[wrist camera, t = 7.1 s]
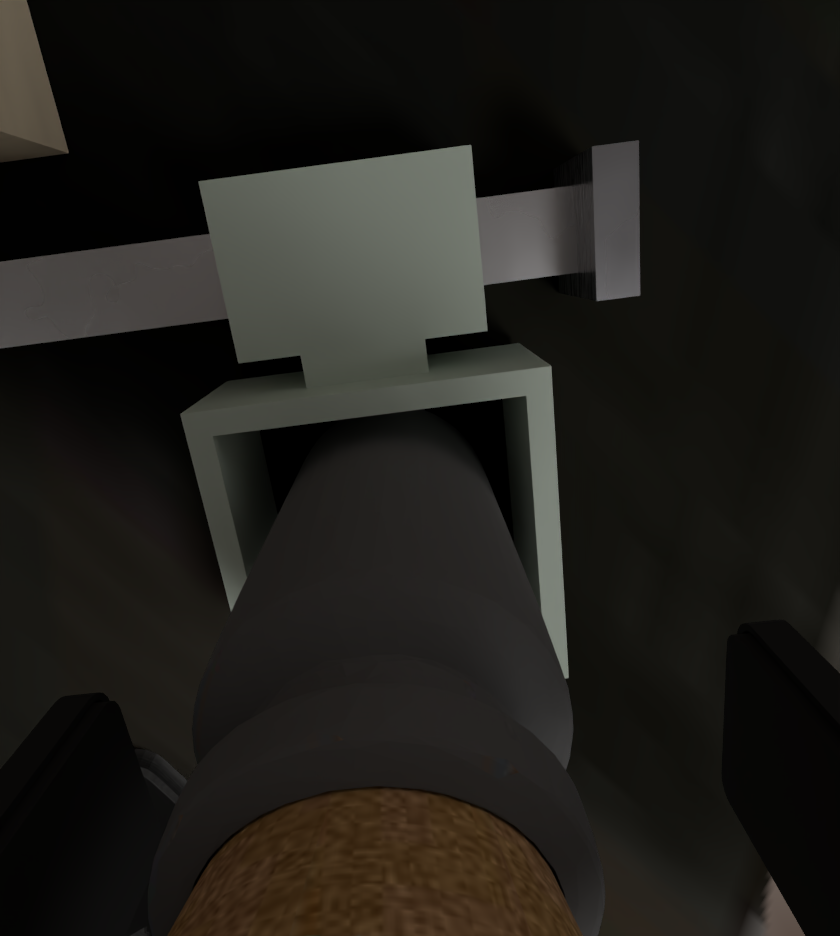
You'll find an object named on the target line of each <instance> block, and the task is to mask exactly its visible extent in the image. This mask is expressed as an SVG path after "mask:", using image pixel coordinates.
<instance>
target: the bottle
mask: <svg viewBox="0 0 840 936" xmlns="http://www.w3.org/2000/svg"><path fill="white" fill-rule="evenodd" d="M192 731H193V743H194V753H195V757H196V760H197V764H198V765H197V766H196V768H195V770H194V771H193V773H192V774H191V776H190V778H189V779H188V781H187V783H186V784H185V786H184V788H183V790H182V792H181V794H180V796H179V798H178V800H177V802H176V804H175V806H174V809H173V811H172V814H171V816H170V819H169V821H168V824H167V826H166V829H165V831H164V834H163V836H162V839H161V841H160V844H159V846H158V849H157V851H156V854H155V856H154V861H153V866H152V871H151V876H150V881H149V887H148V920H149V924H150V929H151V933H152V936H598V933H599V929H600V925H601V921H602V917H603V913H604V904H605V887H604V878H603V869H602V865H601V862H600V858H599V854H598V850H597V847H596V843H595V839H594V836H593V833H592V830H591V827H590V824H589V821H588V819H587V816H586V813H585V810H584V807H583V804H582V802H581V799H580V797H579V794H578V792H577V790H576V787H575V785H574V783H573V781H572V780H571V778H570V776H569V775H568V773H567V772H566V767H567V764H568V761H569V758H570V750H571V743H572V736H573V716H572V708H571V702H570V696H569V691H568V686H567V683H566V681H565V678H564V675H563V672H562V669H561V666H560V663H559V660H558V658H557V655H556V652H555V649H554V647H553V644H552V641H551V638H550V636H549V633H548V630H547V627H546V625H545V622H544V619H543V616H542V614H541V611H540V608H539V606H538V603H537V600H536V598H535V595H534V593H533V590H532V588H531V585H530V583H529V580H528V578H527V575H526V573H525V571H524V568H523V566H522V563H521V561H520V558H519V556H518V553H517V551H516V548H515V546H514V543H513V541H512V538H511V536H510V533H509V531H508V528H507V526H506V523H505V521H504V518H503V516H502V513H501V511H500V508H499V506H498V503H497V501H496V498H495V496H494V493H493V491H492V488H491V486H490V483H489V481H488V478H487V476H486V473H485V471H484V469H483V466H482V464H481V462H480V460H479V458H478V456H477V455H476V453H475V451H474V449H473V447H472V446H471V445H470V444H469V442H468V441H467V440H466V438H465V437H464V436H463V435H462V434H461V433H460V432H459V431H458V430H457V429H456V428H455V427H453V426H452V425H451V424H449V423H448V422H446V421H445V420H443V419H442V418H440V417H438V416H437V415H435V414H432V413H430V412H427V411H425V410H421V409H420V410H412V411H404V412H396V413H389V414H381V415H373V416H365V417H358V418H350V419H342V420H340V421H339V422H337V423H336V424H334V425H333V426H332V427H330V428H329V429H328V430H327V431H326V432H325V433H324V434H323V435H322V436H321V437H320V438H319V439H318V440H317V442H316V443H315V444H314V446H313V447H312V449H311V450H310V452H309V454H308V455H307V457H306V459H305V460H304V462H303V464H302V466H301V469H300V471H299V473H298V475H297V477H296V479H295V481H294V483H293V485H292V487H291V489H290V491H289V493H288V495H287V497H286V499H285V501H284V503H283V505H282V507H281V509H280V512H279V514H278V516H277V518H276V520H275V522H274V524H273V526H272V528H271V530H270V532H269V534H268V536H267V538H266V540H265V542H264V544H263V546H262V548H261V550H260V553H259V555H258V557H257V559H256V561H255V563H254V565H253V567H252V569H251V571H250V573H249V575H248V577H247V579H246V581H245V583H244V585H243V587H242V589H241V591H240V594H239V596H238V598H237V600H236V602H235V605H234V607H233V609H232V611H231V613H230V616H229V618H228V620H227V622H226V625H225V627H224V629H223V631H222V634H221V636H220V638H219V640H218V643H217V645H216V647H215V649H214V651H213V654H212V656H211V658H210V660H209V663H208V665H207V668H206V670H205V673H204V675H203V678H202V680H201V683H200V685H199V689H198V693H197V697H196V702H195V707H194V716H193V727H192Z"/></svg>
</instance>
